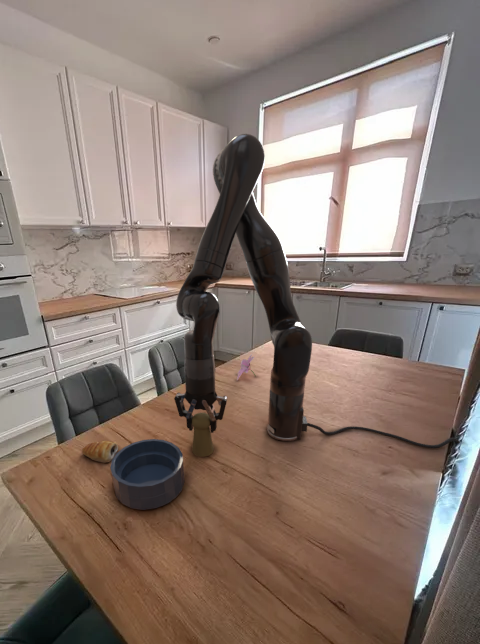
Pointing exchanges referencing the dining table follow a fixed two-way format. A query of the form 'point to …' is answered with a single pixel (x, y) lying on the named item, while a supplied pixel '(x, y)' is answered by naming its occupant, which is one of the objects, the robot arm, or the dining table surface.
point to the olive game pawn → (202, 435)
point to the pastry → (101, 451)
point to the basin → (148, 474)
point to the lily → (245, 366)
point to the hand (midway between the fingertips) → (201, 429)
